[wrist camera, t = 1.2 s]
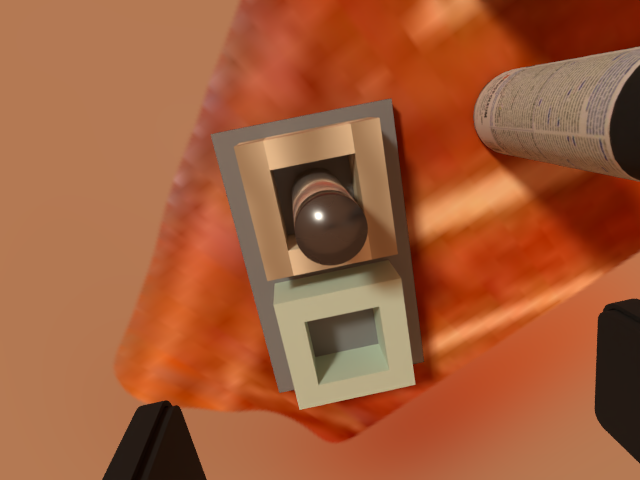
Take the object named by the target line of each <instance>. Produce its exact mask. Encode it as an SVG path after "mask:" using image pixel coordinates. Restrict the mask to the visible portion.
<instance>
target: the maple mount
mask: <svg viewBox="0 0 640 480" xmlns="http://www.w3.org/2000/svg"><path fill="white" fill-rule="evenodd" d="M234 150H235V154H236V158H237V162H238V166H239V170H240V174H241V178H242V182H243V186H244V190H245V194H246V198H247V202H248V206H249V210H250V214H251V218H252V222H253V226H254V230H255V234H256V238H257V242H258V246H259V250H260V254H261V258H262V262H263V266H264V270H265V274H266V278H267V281H271V280H276V279H281V278H286V277H291V276H295V275H300V274H305V273H310V272H315V271H319V270H324V269H329V268H334V267H339V266H343V265H348V264H353V263H358V262H363V261H367V260H372V259H377V258H382V257H387V256H392V255H396V254H398V251H397V244H396V236H395V229H394V221H393V214H392V207H391V199H390V192H389V184H388V177H387V169H386V162H385V155H384V147H383V140H382V132H381V125H380V118H375V117H366V118H361V119H356V120H351V121H346V122H341V123H336V124H331V125H326V126H321V127H316V128H311V129H306V130H301V131H296V132H291V133H286V134H281V135H276V136H271V137H266V138H261V139H256V140H251V141H246V142H241V143H239V144H237V145H236V146H234ZM344 155H348V160H349V166H350V172H351V178H352V184H353V190H354V196H355V202H356V203H357V204H358V206H359V207H360V208H361V210H362V211H363V213H364V215H365V217H366V220H367V224H368V234H367V239H366V242H365V244H364V246H363V248H362V249H361V251H360V252H359V253H358V254H357V255H356V256H355V257H354V258H352V259H351V260H349V261H347V262H345V263H342V264H339V265H331V266H328V265H322V264H318V263H315V262H313V261H311V260H310V259H309V258H307V257H306V256H305V255H304V254H303V253H302V252H301V250H300V248H299V247H298V245H297V242H296V238H295V234H292V235H288V234H287V230H286V226H285V221H284V217H283V212H282V208H281V203H280V199H279V194H278V190H277V186H276V181H275V177H274V172H273V170H274V169H279V168H284V167H289V166H294V165H299V164H304V163H309V162H314V161H319V160H324V159H329V158H334V157H339V156H344Z"/></svg>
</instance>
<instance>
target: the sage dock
mask: <svg viewBox="0 0 640 480" xmlns="http://www.w3.org/2000/svg"><path fill="white" fill-rule="evenodd" d="M273 305H274V309H275V313H276V317H277V321H278V325H279V329H280V333H281V337H282V341H283V345H284V349H285V353H286V357H287V361H288V365H289V369H290V373H291V377H292V381H293V385H294V389H295V393H296V397H297V401H298V405H299V409H300V410H301V409H305V408H310V407H315V406H319V405H324V404H329V403H333V402H338V401H342V400H347V399H352V398H356V397H361V396H366V395H370V394H375V393H380V392H384V391H389V390H393V389H398V388H403V387H407V386H412V385H415V377H414V370H413V362H412V355H411V348H410V340H409V333H408V325H407V318H406V310H405V303H404V296H403V288H402V281H401V277H400V276H399V274H398V273H397V272H396V270H395V269H394V267H393V266H392V265H391V263H390V262H389V260H386V261H381V262H376V263H371V264H367V265H362V266H357V267H352V268H347V269H343V270H338V271H333V272H328V273H323V274H319V275H314V276H309V277H304V278H299V279H295V280H290V281H285V282H280V283H275V286H274V303H273ZM369 308H373V312H374V319H375V325H376V331H377V337H378V343H379V344H375V345H370V346H365V347H361V348H356V349H351V350H346V351H342V352H337V353H332V354H328V355H323V356H318V357H315V355H314V350H313V346H312V341H311V337H310V332H309V328H308V324H307V322H308V321H312V320H317V319H322V318H327V317H331V316H336V315H341V314H346V313H350V312H355V311H360V310H365V309H369Z"/></svg>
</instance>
